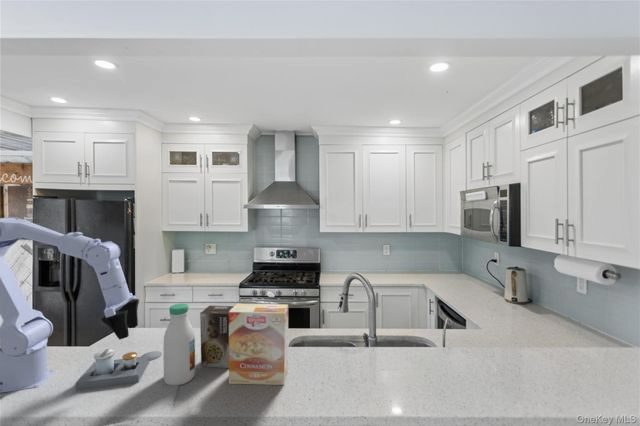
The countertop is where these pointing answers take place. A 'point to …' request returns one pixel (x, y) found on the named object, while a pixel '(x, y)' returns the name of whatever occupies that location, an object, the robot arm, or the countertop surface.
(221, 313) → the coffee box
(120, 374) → the grey flat block
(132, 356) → the plunger
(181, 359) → the milk bottle
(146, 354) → the pad
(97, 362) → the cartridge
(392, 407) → the countertop surface
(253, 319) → the coffeecake box
